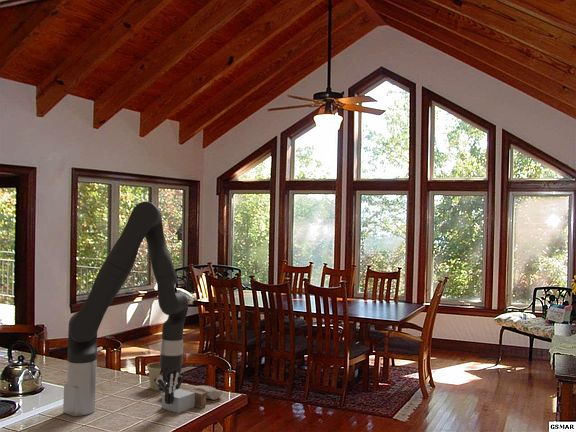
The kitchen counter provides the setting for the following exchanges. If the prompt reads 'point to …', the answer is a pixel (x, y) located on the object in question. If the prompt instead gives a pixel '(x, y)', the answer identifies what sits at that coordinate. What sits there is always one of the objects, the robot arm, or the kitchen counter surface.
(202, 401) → the board
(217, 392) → the fossil
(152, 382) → the flower pot
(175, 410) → the block
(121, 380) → the kitchen counter surface
